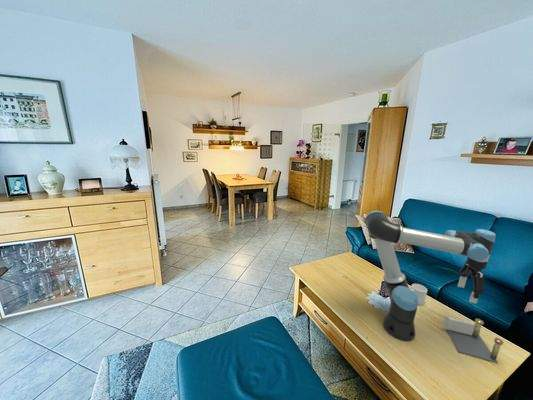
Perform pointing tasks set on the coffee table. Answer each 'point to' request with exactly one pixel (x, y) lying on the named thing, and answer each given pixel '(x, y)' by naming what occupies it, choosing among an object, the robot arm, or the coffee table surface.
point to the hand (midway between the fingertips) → (466, 294)
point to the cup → (419, 292)
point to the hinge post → (477, 328)
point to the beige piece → (459, 325)
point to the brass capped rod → (496, 348)
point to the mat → (470, 345)
